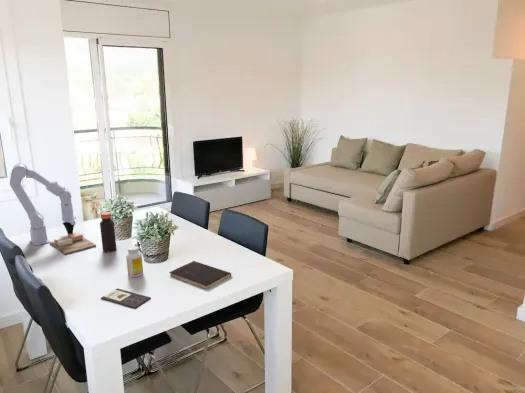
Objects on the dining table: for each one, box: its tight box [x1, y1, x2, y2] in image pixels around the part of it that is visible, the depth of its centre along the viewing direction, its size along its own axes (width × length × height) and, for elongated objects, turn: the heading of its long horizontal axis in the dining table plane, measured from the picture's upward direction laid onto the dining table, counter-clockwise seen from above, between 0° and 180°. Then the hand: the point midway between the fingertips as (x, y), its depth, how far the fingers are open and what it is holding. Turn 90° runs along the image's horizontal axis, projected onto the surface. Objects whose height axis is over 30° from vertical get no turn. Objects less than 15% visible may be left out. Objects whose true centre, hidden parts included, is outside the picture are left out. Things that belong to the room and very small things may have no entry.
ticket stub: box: [67, 231, 84, 241], centre depth 237 cm, size 6×6×2 cm
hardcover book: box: [169, 260, 232, 290], centre depth 193 cm, size 16×23×2 cm
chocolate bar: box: [100, 288, 152, 310], centre depth 173 cm, size 9×1×18 cm
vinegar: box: [99, 211, 117, 253], centre depth 222 cm, size 7×7×20 cm
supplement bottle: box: [125, 245, 144, 278], centre depth 193 cm, size 7×7×13 cm
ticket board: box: [49, 235, 97, 255], centre depth 231 cm, size 22×16×4 cm
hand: (70, 234), depth 242 cm, fingers closed
